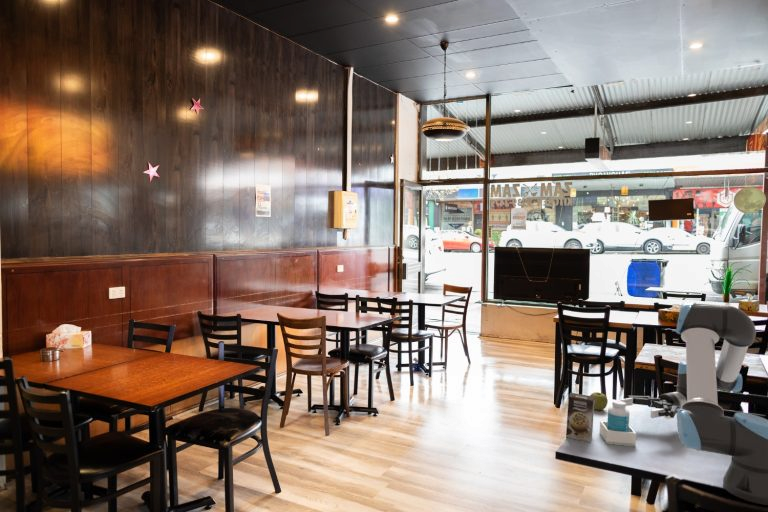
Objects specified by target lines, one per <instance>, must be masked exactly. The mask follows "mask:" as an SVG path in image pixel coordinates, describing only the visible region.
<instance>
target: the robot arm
mask: <svg viewBox="0 0 768 512" xmlns="http://www.w3.org/2000/svg"><path fill="white" fill-rule="evenodd" d="M676 324H677V325H676V330H675V332H676V334H678V335H680V338H681V340H682V341H683V342H685V357H686V358H685V359H686V360H683V361H682V360H681V361H680V362H679V363H678V366H677V367H678V369H677V384H676V391H673V392H671V391H670V392H667V393H662V394H660V395H658V397H652V396H651V395H626V398H622V399H621V398H620V399H619V401H622V402H625V403H626V407H627V406H633V405H639V406H647V407H649V408H654V409H651V410H650V418H651V419H655V418H661V417H669V418H672V419H673V418H675V416H676V425H677V433H678V438H679V441H680V443H681V445H682V446H684V447H685V448H689V449H692V450H695V451H702V452H706V453H715V454H719V455H725V456H730V457H731V462H730V465H729V467H727V468H728V469H727V470H726V471H725V474H724V476H723V480H722V487H723V488H724V489H725V491H727V493H729V494H731V495H733V496H735V497H737V498H738V499H742V500H744V501H747V502H751V503H754V504H760V505H766V506H768V419H767V418H765V417H762V416H759V415H755V414H752V413H747V412H739V411H737V412H735V413H734V415H733V416H728V415H725V412H724V408H723V407H722V406H721V405H719V403H718V402H719V401H718V390H719V391H727V392H728V393H729V392H735V393H740V392H741V391H742V389H743V376H742V373H740V371H741V369H742V365H743V362H744V360H745V358H746V354H747V351H748V350H749V349H748V348H749V347H750V346H752V345H753V344H754V342H755V340H756V335H757V330H756V326H755V323H754V322H753V320H752V319H751V317H750V316H749V315H748V314H747V313H746V312H744V311H743V310H742V309H740V308H737V307H736V306H733V305H727V304H726V305H719V304H709V303H708V304H707V303H706V304H705V303H696V302H684V303H682V304H681V305H680V307H679V313H678V319H677V323H676ZM720 339H724V340H723V344H722V346H721V350H720V354H719V357H718V361H717V363H716V351H715V344H717V343H718V342H719V340H720Z"/></svg>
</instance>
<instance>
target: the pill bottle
mask: <svg viewBox="0 0 768 512" xmlns="http://www.w3.org/2000/svg"><path fill="white" fill-rule="evenodd" d="M606 422H607V429H608V430H610V431H622V432H628V429H629V425H630V411H629V409H627V406H626V403H625V402H622V401H620V400H612V405H611V406H610V407H608V410H607V421H606Z"/></svg>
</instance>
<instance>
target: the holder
mask: <svg viewBox="0 0 768 512" xmlns="http://www.w3.org/2000/svg"><path fill="white" fill-rule="evenodd" d="M599 435H600V437H601V438H602V439H603V441H604V440H605V441H604V442H605V444H606V443H607V444H606V445H613V444H614V445H615V446H623V445H624V446H626V447H636V445H637V444H636V443H637V432H636V431H635V429H633V428H632V426H631V425H630V424H629V429H628V432H622V431H610V430H608V429H607V421H606V420H605V421H604V420H603V421H602V420H600V421H599Z"/></svg>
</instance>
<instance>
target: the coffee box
mask: <svg viewBox="0 0 768 512" xmlns="http://www.w3.org/2000/svg"><path fill="white" fill-rule="evenodd" d="M594 402H595V397H593V396H590V395H588V394H587V395H586V394H582V393H574V392H570V393H569V395H568V398H567V415H566V416H567V418H566V434H565V438H567V437H568V438H567V439H572V440H575V441H576V440H577V441H581V442H587V443H591V442H592V440H593V431H594V430H593V429H594V416H595V409H594Z"/></svg>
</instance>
